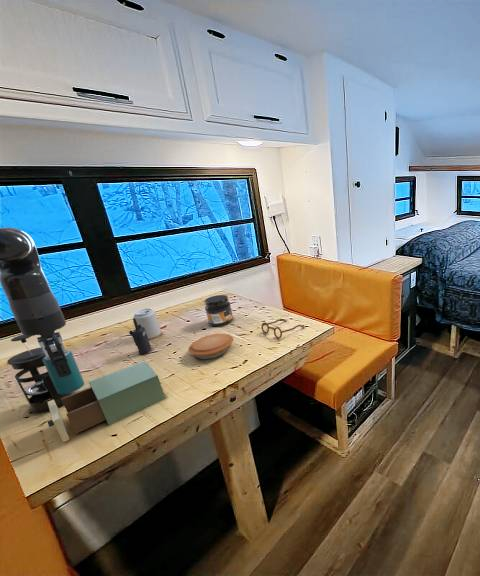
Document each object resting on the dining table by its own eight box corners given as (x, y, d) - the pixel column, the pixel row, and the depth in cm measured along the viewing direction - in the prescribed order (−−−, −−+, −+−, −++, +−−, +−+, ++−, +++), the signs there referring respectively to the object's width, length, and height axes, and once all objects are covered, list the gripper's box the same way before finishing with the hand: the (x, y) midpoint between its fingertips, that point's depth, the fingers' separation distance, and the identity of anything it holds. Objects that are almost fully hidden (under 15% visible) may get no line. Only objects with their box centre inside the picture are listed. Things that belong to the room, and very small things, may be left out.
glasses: (261, 332, 132) (259, 322, 131) (285, 321, 143) (284, 311, 141) (281, 340, 126) (279, 329, 124) (305, 327, 136) (303, 317, 134)
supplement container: (217, 329, 136) (211, 304, 132) (204, 324, 142) (198, 300, 138) (238, 320, 145) (233, 296, 141) (225, 315, 150) (220, 292, 146)
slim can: (58, 397, 77) (43, 362, 74) (56, 388, 81) (40, 355, 77) (86, 386, 81) (72, 353, 78) (82, 379, 84) (69, 347, 81)
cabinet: (108, 425, 84) (97, 400, 81) (98, 405, 91) (88, 381, 88) (165, 398, 94) (157, 375, 91) (152, 382, 101) (144, 360, 98)
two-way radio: (148, 354, 118) (136, 319, 113) (134, 356, 116) (122, 321, 111) (152, 347, 123) (141, 313, 118) (139, 349, 121) (127, 315, 116)
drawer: (56, 445, 77) (45, 424, 74) (51, 424, 83) (40, 404, 81) (124, 413, 87) (116, 394, 84) (114, 397, 93) (107, 378, 91)
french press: (25, 407, 91) (-11, 339, 83) (66, 388, 99) (36, 325, 91) (41, 419, 87) (5, 349, 79) (83, 398, 94) (54, 333, 86)
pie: (234, 338, 128) (232, 327, 127) (235, 356, 115) (232, 344, 113) (192, 347, 122) (189, 336, 121) (188, 367, 109) (184, 355, 107)
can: (163, 335, 132) (156, 310, 128) (142, 342, 127) (133, 316, 123) (159, 330, 137) (152, 305, 132) (139, 336, 132) (130, 311, 127)
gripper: (12, 309, 75) (40, 368, 81) (16, 325, 66) (46, 389, 72) (56, 300, 80) (78, 355, 86) (64, 314, 72) (88, 374, 78)
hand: (64, 371), depth 79 cm, fingers closed on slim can, 5 cm apart
